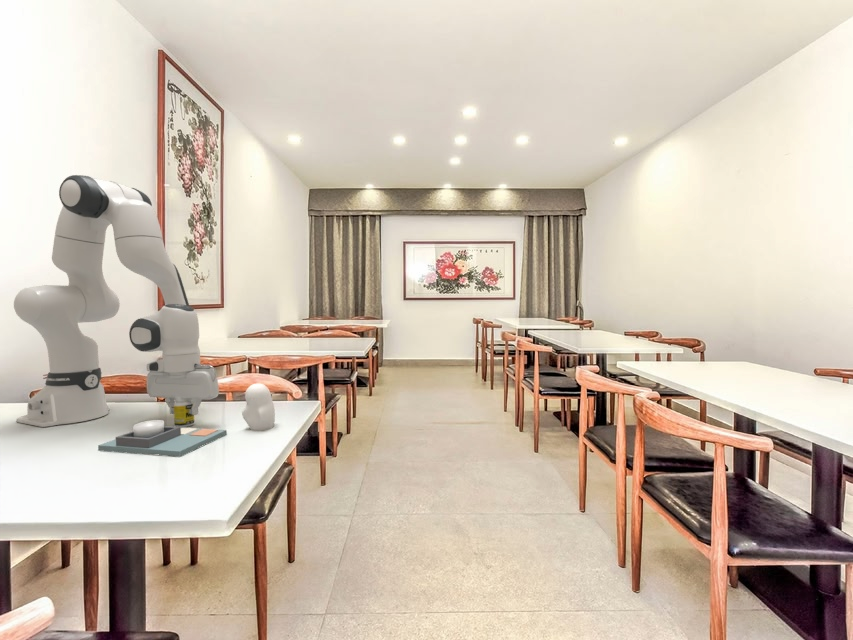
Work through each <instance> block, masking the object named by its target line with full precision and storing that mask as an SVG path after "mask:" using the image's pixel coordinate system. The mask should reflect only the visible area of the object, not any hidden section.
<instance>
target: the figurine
mask: <svg viewBox="0 0 853 640" xmlns="http://www.w3.org/2000/svg"><path fill="white" fill-rule="evenodd" d="M244 397H245V399H244V400H245V403H246V405H245V406H244V407H243V409H242V411H241V415H242V418H243V420H244V422H245V423H246V424H247V425H248V428H249V429H250V430H251V431H263V430H264V431H265V430H269V429H271V428H274V426H275V421H276V416H275V415H276V413H275V410H276V409H275V404H274V401H273V398H272V393H271V392H270V390H269V387H268V386H267V385H265V384H263V383H253V384H251V385H250V386H248V387H247V389H246V390H245V393H244Z"/></svg>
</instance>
